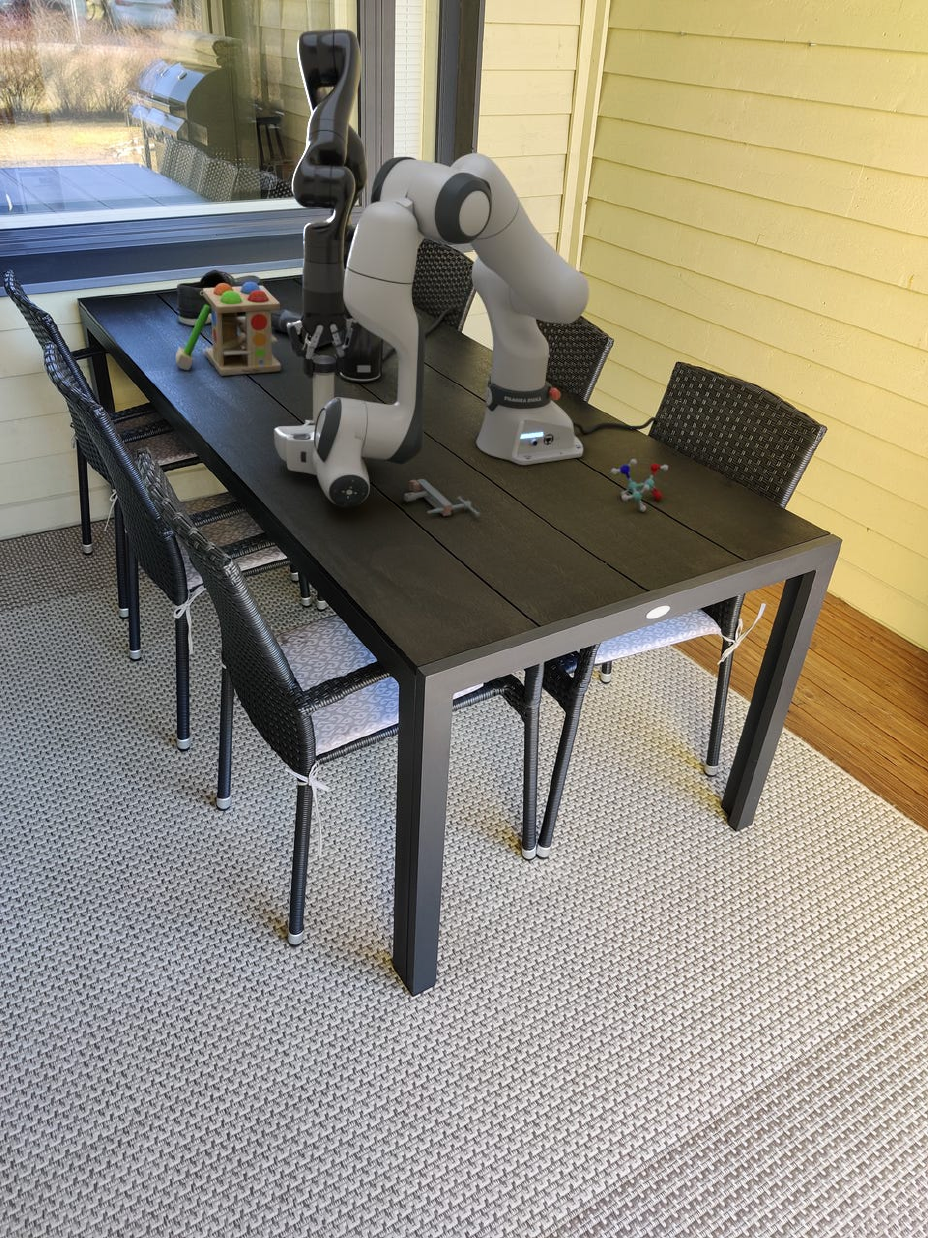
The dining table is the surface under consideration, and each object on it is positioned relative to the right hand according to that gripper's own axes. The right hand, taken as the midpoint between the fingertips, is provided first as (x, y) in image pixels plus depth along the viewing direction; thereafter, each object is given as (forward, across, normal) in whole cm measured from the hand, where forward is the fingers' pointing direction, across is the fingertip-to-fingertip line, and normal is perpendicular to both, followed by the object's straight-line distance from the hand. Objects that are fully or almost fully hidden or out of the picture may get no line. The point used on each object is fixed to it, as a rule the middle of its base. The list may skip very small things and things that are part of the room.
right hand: (322, 422), depth 192 cm
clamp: (-26, -17, +6) cm, 31 cm away
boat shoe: (+91, +13, +6) cm, 92 cm away
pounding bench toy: (+49, +15, +6) cm, 52 cm away
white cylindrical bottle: (-1, 0, +6) cm, 6 cm away
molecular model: (-27, -56, +6) cm, 63 cm away
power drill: (+71, -8, +6) cm, 71 cm away
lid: (-1, 0, -13) cm, 13 cm away
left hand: (-1, 0, -10) cm, 10 cm away
